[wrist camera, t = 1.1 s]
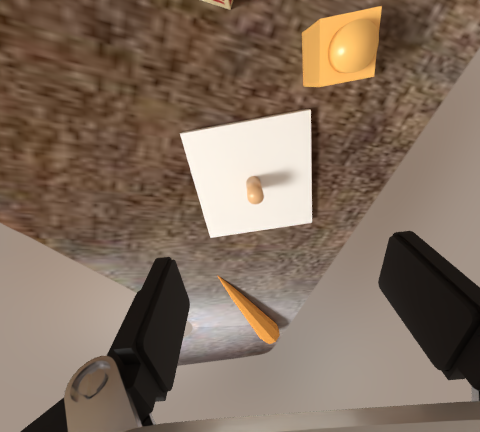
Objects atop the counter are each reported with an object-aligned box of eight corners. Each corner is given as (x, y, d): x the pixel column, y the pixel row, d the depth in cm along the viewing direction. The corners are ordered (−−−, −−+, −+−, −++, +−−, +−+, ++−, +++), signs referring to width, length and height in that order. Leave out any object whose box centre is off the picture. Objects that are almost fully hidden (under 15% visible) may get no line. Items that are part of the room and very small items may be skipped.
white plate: (182, 132, 29) (171, 141, 24) (308, 108, 28) (323, 114, 23) (211, 233, 37) (207, 256, 32) (309, 218, 36) (321, 240, 31)
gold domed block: (302, 32, 24) (326, 14, 18) (349, 22, 24) (392, 0, 17) (303, 86, 27) (325, 87, 20) (346, 78, 26) (383, 76, 20)
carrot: (277, 322, 51) (286, 337, 46) (261, 336, 50) (269, 352, 46) (223, 261, 44) (228, 271, 40) (205, 276, 44) (208, 288, 39)
